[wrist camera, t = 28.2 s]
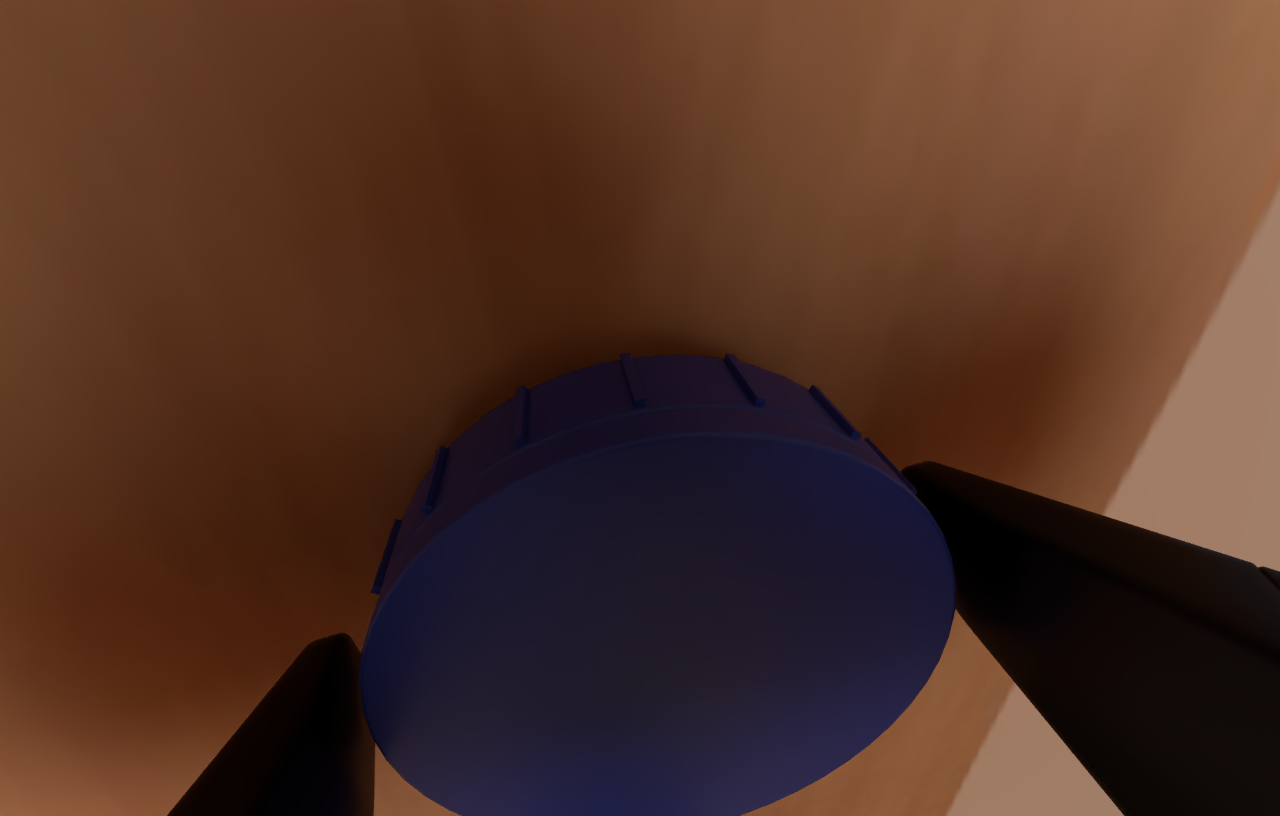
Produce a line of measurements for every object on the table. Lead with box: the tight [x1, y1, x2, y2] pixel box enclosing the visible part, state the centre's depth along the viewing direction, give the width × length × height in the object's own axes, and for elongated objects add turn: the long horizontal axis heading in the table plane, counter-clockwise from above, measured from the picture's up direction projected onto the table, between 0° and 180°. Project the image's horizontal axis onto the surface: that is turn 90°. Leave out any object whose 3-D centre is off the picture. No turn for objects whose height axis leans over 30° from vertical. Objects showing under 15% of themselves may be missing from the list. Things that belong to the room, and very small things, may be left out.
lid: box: [359, 353, 956, 816], centre depth 7 cm, size 7×7×2 cm
